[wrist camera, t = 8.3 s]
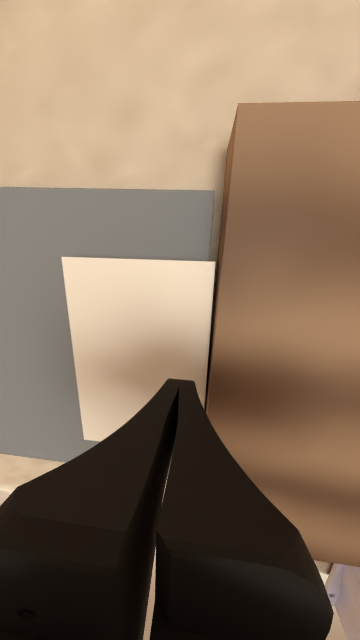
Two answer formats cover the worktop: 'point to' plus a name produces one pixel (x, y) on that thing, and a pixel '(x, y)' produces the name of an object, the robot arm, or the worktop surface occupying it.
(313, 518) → the brown wooden flat block
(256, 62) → the worktop surface
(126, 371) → the cream flat block
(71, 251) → the mat
